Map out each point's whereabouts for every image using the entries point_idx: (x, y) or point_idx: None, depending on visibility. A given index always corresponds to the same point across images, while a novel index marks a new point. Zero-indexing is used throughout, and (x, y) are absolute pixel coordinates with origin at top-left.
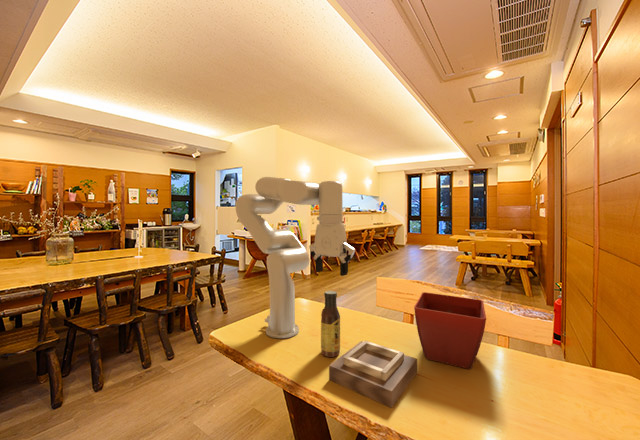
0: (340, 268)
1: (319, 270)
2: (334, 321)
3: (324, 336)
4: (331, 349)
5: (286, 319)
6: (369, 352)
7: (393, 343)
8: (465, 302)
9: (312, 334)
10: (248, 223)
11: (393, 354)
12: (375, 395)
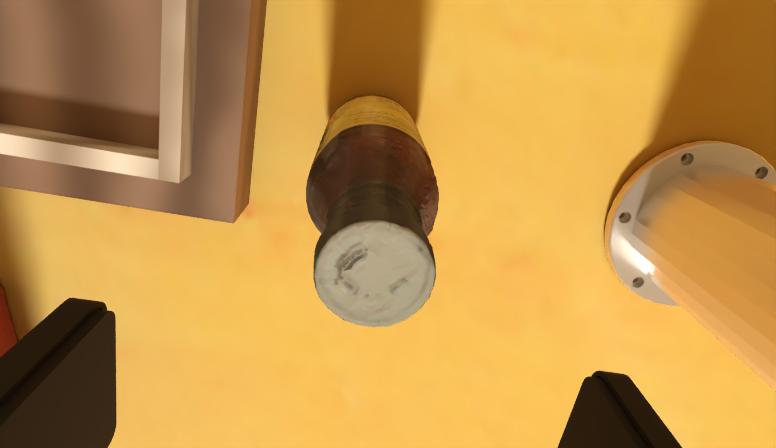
0: (30, 383)
1: (576, 425)
2: (322, 150)
3: (385, 110)
4: (345, 105)
5: (696, 217)
6: (146, 130)
7: (163, 341)
8: None
9: (530, 263)
10: None
11: (10, 130)
12: None
